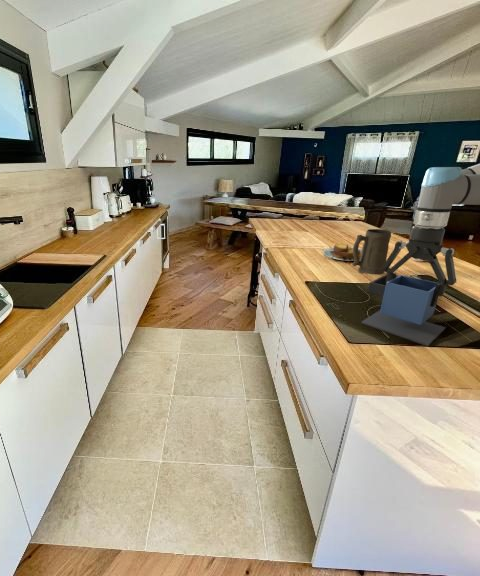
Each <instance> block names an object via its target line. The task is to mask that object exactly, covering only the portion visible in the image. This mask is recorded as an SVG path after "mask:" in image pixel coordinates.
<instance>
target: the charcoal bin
mask: <svg viewBox="0 0 480 576" xmlns="http://www.w3.org/2000/svg"><path fill="white" fill-rule="evenodd" d="M400 275H401V274H396V277H398V276H400ZM386 277H387V273H386V274H384V275H382V276H380V277H378V278H376V279H374V280H372V281H370V282H369V284H368V289H367V293H369V294H372V295H373V294H374V295H377V296H381V297H383V296H384V292H385V287H386V282H385V281H386Z"/></svg>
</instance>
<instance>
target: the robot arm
mask: <svg viewBox="0 0 480 576" xmlns="http://www.w3.org/2000/svg"><path fill="white" fill-rule="evenodd" d="M453 205H456V206H457V205H466V206H467V205H470V206H471V205H476V206H479V205H480V163H478V164H475V165H472V166H469V167H467V168H464V169H462V167H460V166H436V167H435V166H434V167H429V168H428V169H427V170H426V171H425V174H424V177H423V179H422V183H421V189H420V193H419V197H418V202H417V205H416V210H415V213H414V217H413V222H412V224H413V226H411V229H410V230H411V231H410V234H409V239H408V240H407V242H405V241H403V240H399V241H396V242H395V243H394V248H393V249H392V251H391V253H390V254H389V256H387V258H386V262H385V263H384V265H383V266H382V268H381V270H382V271H384V273H386V274H387V277H386V281H385V282H386V283H387V282H388V281H390V280H392V279H394V278H396V275H397V273H395V272H396V271H397V270H398V269H399V268H401V267H402V266H403V265H404V264H405V263H406V262H408V261H409V260H410V259H411V258H412V259H413V258H414V259H421V260H425V261H424V262H428V264H429V265H430V266H431V269H432V270H433V273H434V275H435V277H436V279H437V281H438V282H437V283H438V284H437V285H436V287H435V291H434V294H433V298H432V301H431V305H430V306H431V307H434V306H435V305H436V306H437V304H438V301H439V297H442V296H444V294H445V291H446V288H447V286H453V285H455V284H456V283H457V274H456V268H455V262H454V254H455V251H456V250H455V248H453V247H450V248H448V247H443V245H442V243H443V239H444V236H445V233H446V229H445V227H447V225H448V222H449V218H450V214H451V211H452V207H453ZM404 248H406V251H408V252H407V253H406V254H405V255H404V256H403V257H402V258H400V259H399V260H398V261H397V262H396V263H395V264H394V265H392V264H393V262H395V260H396V258H397V256H398V255H399V254H400V253H401V251H402V250H403V249H404ZM440 253H442V257H444V263H445V269H446V275H445V273H444V271H443V268H442V267H441V264H440V262H439V259H438V257H437V255H438V254H440ZM426 260H428V261H426ZM391 265H392V267H390V266H391ZM438 296H439V297H438ZM437 300H438V301H437ZM436 303H437V304H436Z"/></svg>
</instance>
